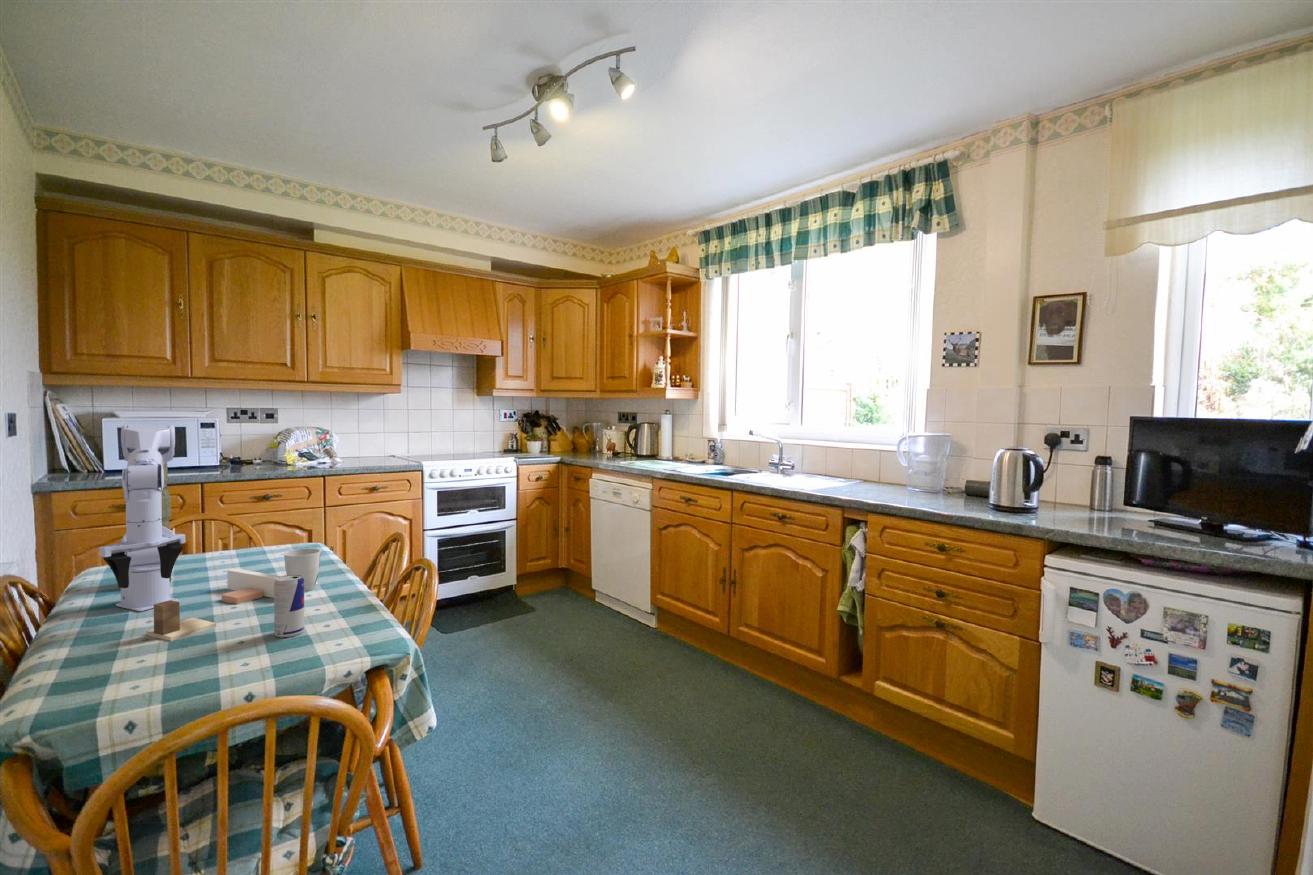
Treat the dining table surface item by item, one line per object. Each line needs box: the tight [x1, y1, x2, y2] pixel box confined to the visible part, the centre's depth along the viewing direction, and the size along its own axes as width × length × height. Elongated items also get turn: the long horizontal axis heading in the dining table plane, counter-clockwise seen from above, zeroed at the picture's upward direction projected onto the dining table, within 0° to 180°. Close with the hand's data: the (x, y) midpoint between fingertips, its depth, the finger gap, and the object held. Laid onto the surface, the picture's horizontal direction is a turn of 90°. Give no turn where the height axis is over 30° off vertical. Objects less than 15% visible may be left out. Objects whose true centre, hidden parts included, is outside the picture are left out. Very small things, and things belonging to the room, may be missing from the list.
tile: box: [221, 588, 264, 605], centre depth 140 cm, size 6×6×2 cm
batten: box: [226, 568, 281, 599], centre depth 144 cm, size 22×2×5 cm, turn 70°
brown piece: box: [146, 600, 217, 642], centre depth 120 cm, size 8×8×7 cm
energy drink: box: [273, 574, 305, 639], centre depth 119 cm, size 5×5×12 cm
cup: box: [283, 547, 321, 593], centre depth 148 cm, size 8×8×10 cm
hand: (145, 582), depth 122 cm, fingers open, 7 cm apart
